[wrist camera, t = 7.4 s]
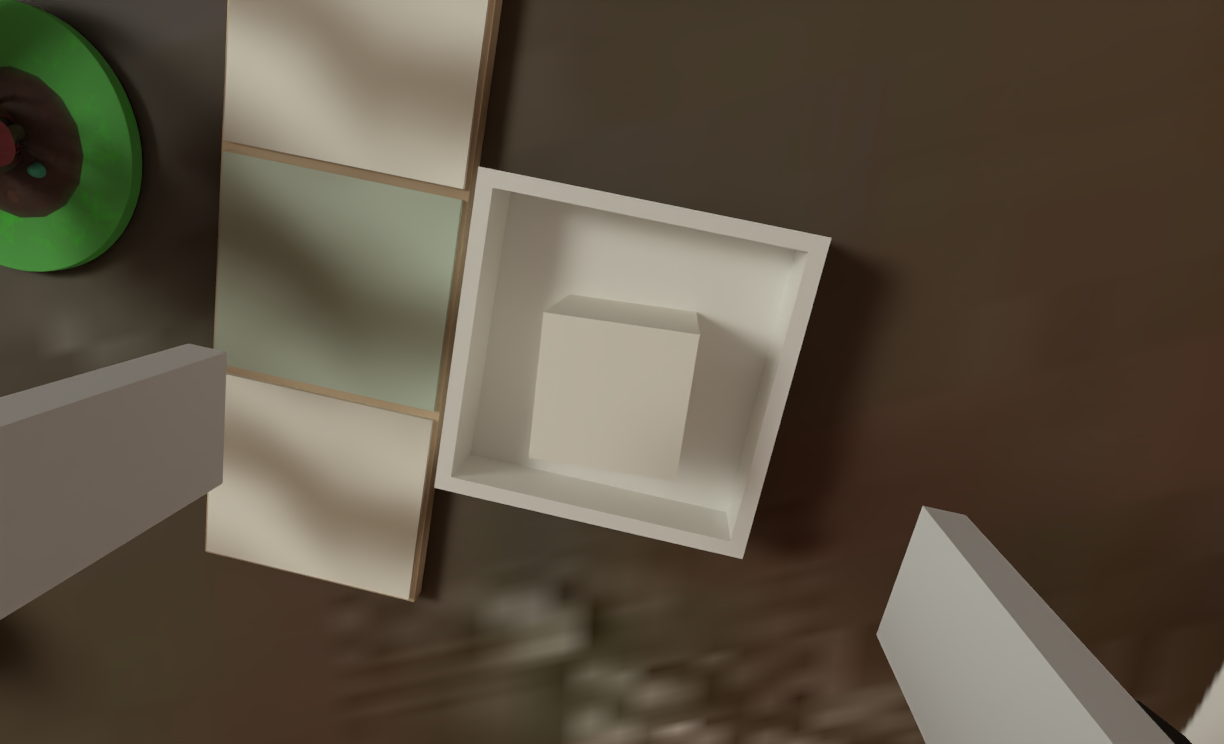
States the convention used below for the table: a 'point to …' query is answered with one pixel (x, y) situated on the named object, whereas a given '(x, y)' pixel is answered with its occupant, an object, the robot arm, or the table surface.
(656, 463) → the cube
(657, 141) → the table surface
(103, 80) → the red and green piece
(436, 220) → the board
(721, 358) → the tray
